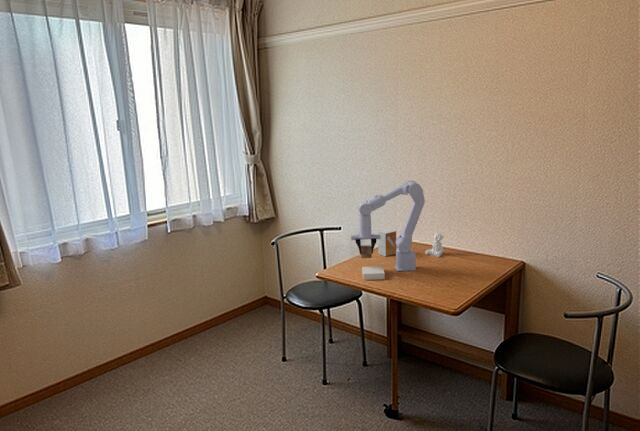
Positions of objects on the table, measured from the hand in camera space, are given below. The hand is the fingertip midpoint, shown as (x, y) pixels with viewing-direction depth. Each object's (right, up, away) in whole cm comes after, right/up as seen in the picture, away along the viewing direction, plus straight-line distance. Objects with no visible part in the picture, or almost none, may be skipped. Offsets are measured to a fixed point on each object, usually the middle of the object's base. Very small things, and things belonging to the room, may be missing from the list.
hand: (366, 253), depth 232 cm
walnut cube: (0, -2, 0) cm, 2 cm away
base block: (+3, -10, -6) cm, 12 cm away
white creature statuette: (+40, -2, +22) cm, 46 cm away
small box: (+14, -3, +27) cm, 30 cm away
